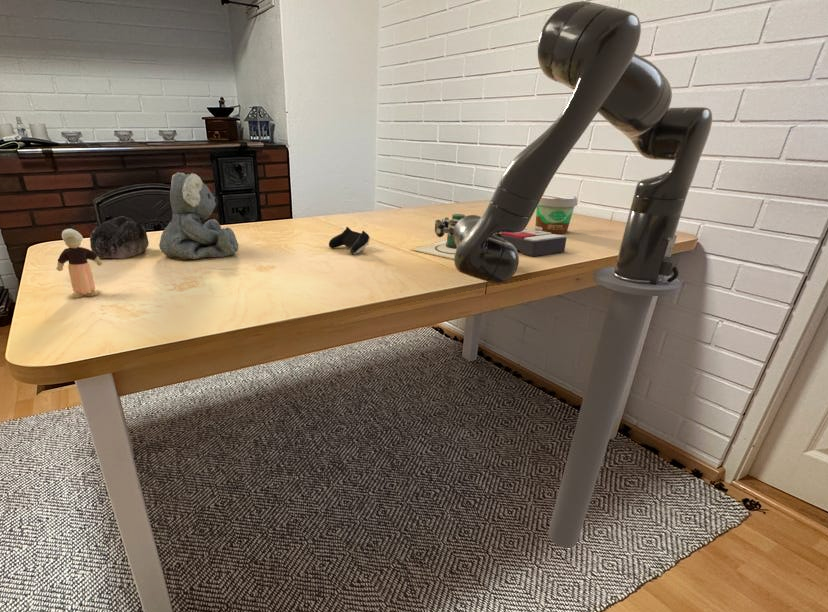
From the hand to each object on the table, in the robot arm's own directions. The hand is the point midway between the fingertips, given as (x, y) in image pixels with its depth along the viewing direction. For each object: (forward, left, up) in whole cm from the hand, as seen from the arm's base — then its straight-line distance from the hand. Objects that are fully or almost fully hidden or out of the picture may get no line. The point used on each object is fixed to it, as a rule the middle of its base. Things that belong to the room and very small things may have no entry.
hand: (464, 222), depth 109 cm
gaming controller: (+26, +12, -9) cm, 30 cm away
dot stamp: (+7, -9, -8) cm, 14 cm away
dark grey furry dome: (+65, +56, -9) cm, 86 cm away
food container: (-3, -45, -9) cm, 46 cm away
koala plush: (+51, +42, -9) cm, 67 cm away
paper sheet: (+6, -7, -9) cm, 13 cm away
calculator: (-6, -22, -9) cm, 24 cm away
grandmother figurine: (+37, +73, -9) cm, 82 cm away
